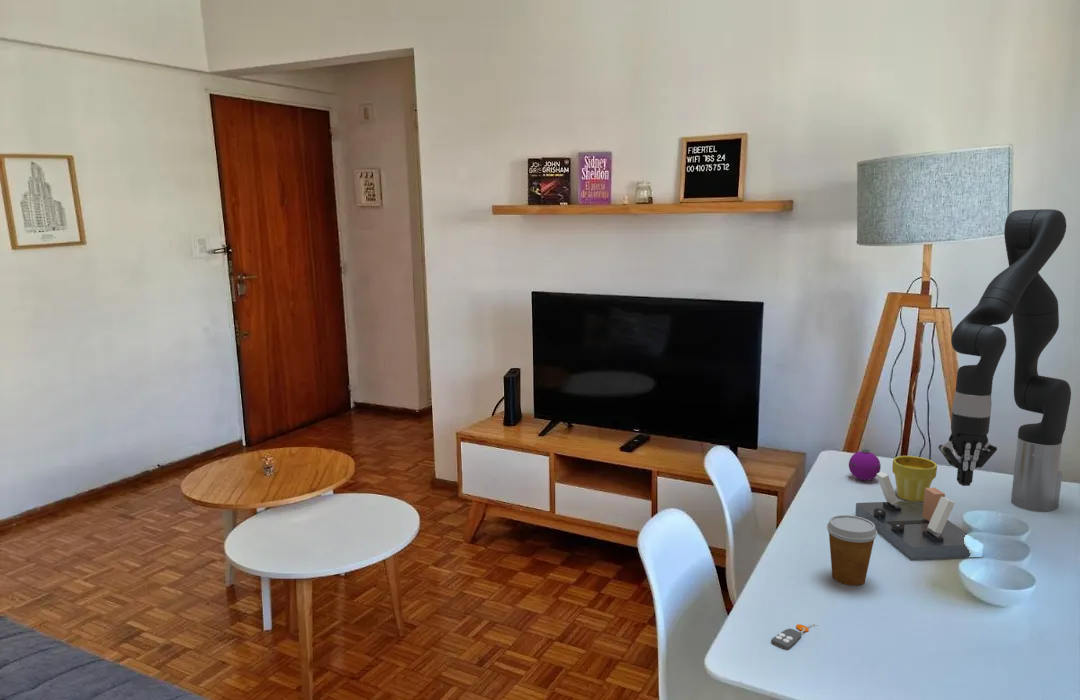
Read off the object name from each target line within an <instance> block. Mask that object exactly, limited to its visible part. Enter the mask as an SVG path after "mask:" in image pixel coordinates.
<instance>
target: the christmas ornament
mask: <svg viewBox="0 0 1080 700" xmlns="http://www.w3.org/2000/svg"><path fill="white" fill-rule="evenodd" d="M881 466H882V465H881V462H880V459H879V458H878V456H877V455H875V454H874V453H872V452H870V448H868V447H867V445H865V447H862V449H861V450H860V451H857V452H855V453H854V454H852V456H851V457H850V458H849V460H848V469H849V471H850V473H851V474H852V476H853V477H855V478H856V479H858V480H860V481H872V480H873V479H875V478H876V477H877V473H879V472H881Z"/></svg>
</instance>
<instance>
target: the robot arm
mask: <svg viewBox="0 0 1080 700" xmlns="http://www.w3.org/2000/svg"><path fill="white" fill-rule="evenodd" d="M1066 232H1067V219H1066V215H1064V212H1062V211H1061V210H1059V209H1049V208H1048V209H1046V208H1045V209H1041V208H1040V209H1019V210H1014V211H1013V210H1012V211H1011V212H1010V213H1009V214H1008V216H1007V217H1006V220H1005V222H1004V232H1003V234H1004V243H1005V244H1004V245H1005V248H1006V249H1005V251H1006V255H1007V261H1008V267H1007V268H1005V269H1004V270H1002V271H1001V272H1000V273H998V275H996V276H995V277H994V278H993V279H992V280H991V281H990V282H989V284H988V285H987V286H986V288H985V290H984V292H983V294H982V296H981V297H980V300H979V301H978V303H977V305H976V306H975V307H974V308H973V309H971V311H970V312H969V313H968V314H967V315H966V316H965V317H964V318H962V320H961V321H960V322H959V323H958V324H957V325H956V326H955V328H954V330H953V331H952V335H951V339H950V341H951V342H950V343H951V346H952V349H953V350H954V351H955V352H956V353H958V354H961V355H967V356H968V355H969V356H976V357H980V358H979V361H978V362H977V364H966V365H962V366H960V367H959V368H958V369H957V372H956V383H955V392H954V397H953V401H952V410H951V420H950V421H951V422H950V431H951V433H950V436H949V437H948V441H947V442H946V443H945V444H944V445H943V444H939V445H938V450H939V451H940V452H941V454H942V455H943V456H944V458H945V459H946V461H947V462H948V464H949V465H950V466H953V467H954V468H955V469H957V470H956V471H957V473H956V474H957V475H956V481H957V484H959V485H960V486H963V487H970V486H971V484H972V482H973V477H974V471H975V470H976V469H977V468H979V469H980V468H983V467H984V466H985V464H986V463H987V462H988V461H989V460H990V459H991V457H992V456H994V454H995V453H996V452H997V450H998V447H997V446H994V445H993V444H991V443H990V442H989V437H988V436H987V435H988V434H989V431H990V422H991V411H992V390H993V381H994V376H995V373H996V370H997V367H998V365H999V362H1000V361H1001V359H1002V356H1003V354H1004V352H1005V349H1006V346H1007V336H1006V333H1005V332H1004V330H1003V329H1002V328H1001V327H999V326H997V325H1002V324H1003V325H1004V324H1005V323H1007V322H1008V321H1009V320H1010V319H1011V317H1012V324H1013V334H1014V335H1013V336H1014V353H1015V355H1014V376H1013V378H1014V379H1013V398H1014V402H1015V405H1016V406H1017V407H1018V408H1019V409H1022V410H1023V411H1028V412H1032V413H1036V414H1040V415H1042V418H1041V421H1040V422H1037V423H1025V424H1023V425H1020V426H1019V428H1018V430H1017V439H1016V441H1017V442H1016V448H1015V450H1016V451H1015V459H1014V467H1013V468H1014V469H1013V480H1012V486H1011V487H1012V489H1011V497H1010V502H1011V504H1013V505H1014V506H1016V507H1019V508H1021V509H1024V510H1025V509H1026V510H1029V511H1034V512H1051V511H1053V510H1055V509H1059V507H1060V506H1059V504H1060V496H1061V488H1062V478H1063V472H1062V471H1061V470H1060V461H1061V454H1062V453H1061V452H1062V445H1063V437H1064V434H1065V431H1066V427H1067V423H1068V415H1069V409H1070V404H1071V399H1072V391H1071V390H1072V389H1071V386H1070V384H1069V382H1068V381H1066V380H1065V379H1061V378H1057V377H1056V378H1055V377H1051V376H1044V375H1040V374H1039V372H1038V364H1039V358H1040V356H1041V354H1042V352H1043V351H1044V349H1045V348H1046V347H1047V346H1048V345H1049V343H1050V342H1051V341H1052V339H1054V337H1055V335H1056V334H1057V332H1058V329H1059V327H1060V317H1059V315H1060V313H1059V300H1058V299H1057V296H1056V294H1055V292H1054V291H1053V289H1052V288H1051V287H1050V286H1049V284H1048V283H1047V282H1046V281H1045V279H1044V278H1043V276H1042V275H1041V274H1040V271H1041V270H1042V269H1043V267H1045V265H1046V263H1048V261H1049V260H1050V258H1052V256H1053V254H1054V253H1055V252H1056V250H1057V249H1058V248H1059V247H1060V245H1061V243H1062V241H1063V239H1064V238H1065V234H1066ZM953 452H955V454H954V453H953Z"/></svg>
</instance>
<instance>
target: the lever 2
mask: <svg viewBox="0 0 1080 700" xmlns="http://www.w3.org/2000/svg"><path fill="white" fill-rule="evenodd" d="M954 506H955V502H954V501H952V500H951V499H949V498H948V497H946V496H945V497H942V496H941V498H940V500H939V502H938V505H937V507H936V509H935V511H934V513H933V516H932V518H931V520H930V522H929V525H928V527H927V531H929V532H930V533H932V534H933V535H934V536H936V537H937V538H939V537H940V535H939V534H941V533H942V531H943V528H944V526H945V524H946V522H947V520H948V519H949V517H950V515H951V513H952V511H953V509H954ZM948 521H949V520H948ZM938 533H939V534H938Z"/></svg>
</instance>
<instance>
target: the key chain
mask: <svg viewBox="0 0 1080 700" xmlns="http://www.w3.org/2000/svg"><path fill="white" fill-rule="evenodd" d="M795 626H796V627H795V628H796V629H797V630H796V629H793V628H787V629H785V630H783V631H781V632H779V633H778V634H777V635H775V636H774V637H772V638H771V639H770V643H771V644H772V645H773V646H775V647H776V646H777V647H778V648H781V649H783V650H785V651H788V650H791V649H792V648H793V647H794V646H795V645H796V644H797V643H798V642H799V641H800V640H801V639H802V633H803V632H804V633H807V632H809V631H810V629H811V628H813V627H817V626H819V625H818V624H816V623H814V624H809V625H803V624H796V625H795ZM798 630H799V631H798Z"/></svg>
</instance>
